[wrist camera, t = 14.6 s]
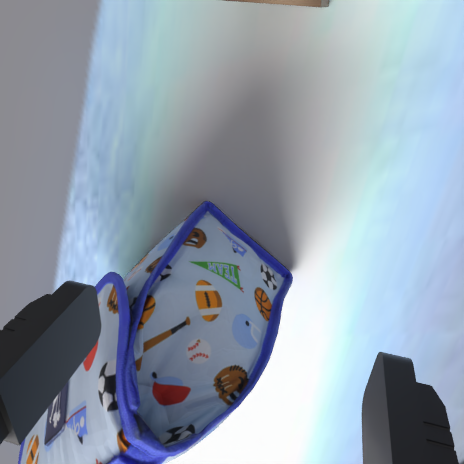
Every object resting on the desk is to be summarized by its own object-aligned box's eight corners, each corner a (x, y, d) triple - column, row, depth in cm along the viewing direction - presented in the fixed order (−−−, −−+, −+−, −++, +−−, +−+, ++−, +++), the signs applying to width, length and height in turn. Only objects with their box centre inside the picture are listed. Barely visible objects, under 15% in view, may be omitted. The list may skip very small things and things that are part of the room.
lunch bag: (191, 176, 43) (16, 361, 21) (304, 269, 45) (258, 530, 23) (104, 288, 55) (-66, 482, 33) (196, 357, 57) (97, 585, 35)
